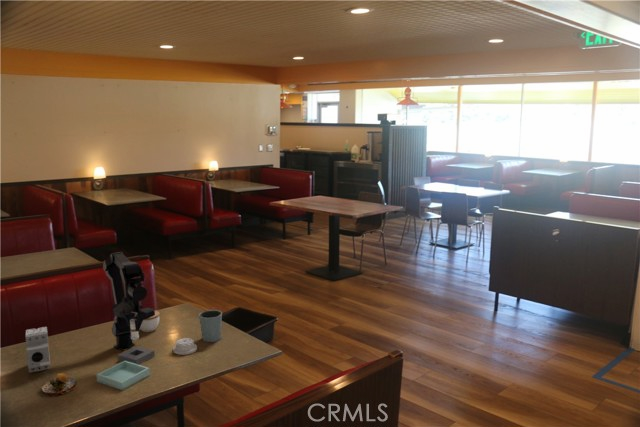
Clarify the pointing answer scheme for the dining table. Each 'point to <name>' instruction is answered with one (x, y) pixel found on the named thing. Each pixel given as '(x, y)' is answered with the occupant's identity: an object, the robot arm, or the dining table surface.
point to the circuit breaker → (37, 349)
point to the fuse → (133, 330)
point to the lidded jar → (150, 323)
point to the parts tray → (123, 375)
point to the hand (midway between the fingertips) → (134, 330)
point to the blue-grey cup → (211, 325)
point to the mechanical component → (185, 346)
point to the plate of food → (59, 385)
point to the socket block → (136, 355)
